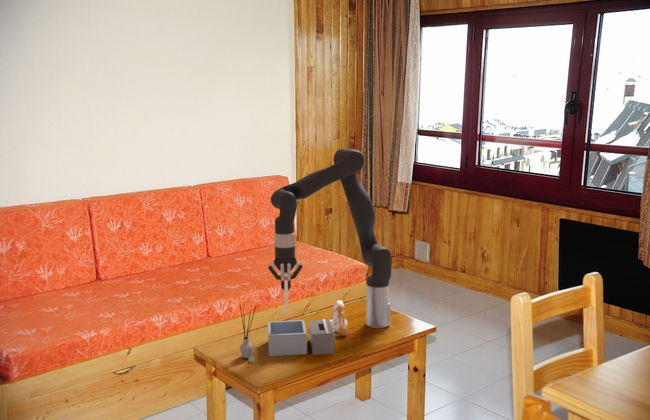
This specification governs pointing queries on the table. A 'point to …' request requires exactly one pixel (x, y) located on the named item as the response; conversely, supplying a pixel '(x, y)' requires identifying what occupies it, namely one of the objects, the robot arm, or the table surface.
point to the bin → (287, 338)
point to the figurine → (342, 329)
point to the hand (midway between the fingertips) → (285, 289)
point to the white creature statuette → (335, 318)
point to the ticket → (286, 292)
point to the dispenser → (321, 337)
